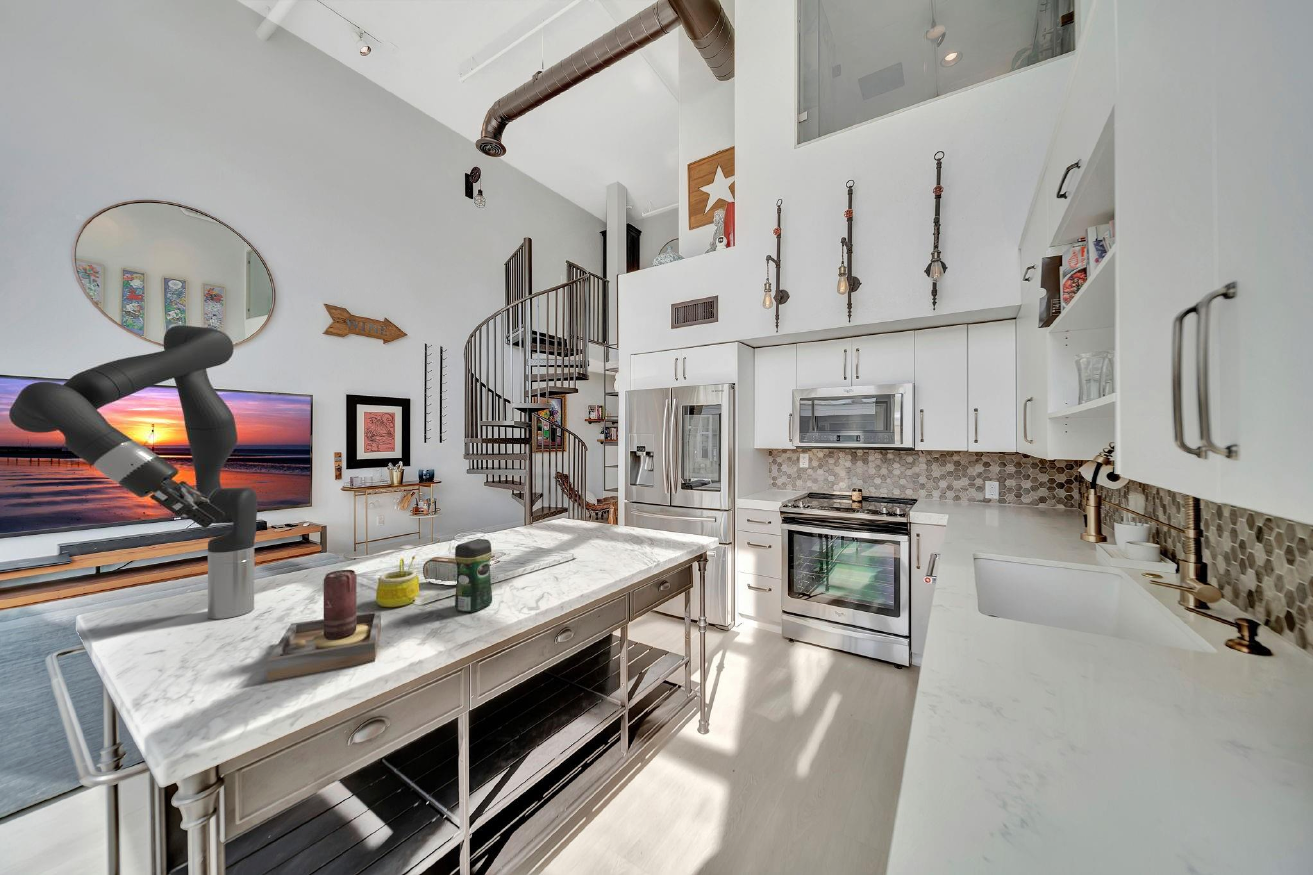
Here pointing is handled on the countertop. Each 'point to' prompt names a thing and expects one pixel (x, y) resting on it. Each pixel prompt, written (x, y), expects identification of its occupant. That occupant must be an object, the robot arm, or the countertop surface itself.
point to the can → (340, 604)
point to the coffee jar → (473, 575)
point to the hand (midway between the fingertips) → (216, 520)
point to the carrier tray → (323, 648)
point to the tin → (440, 569)
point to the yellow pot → (397, 587)
